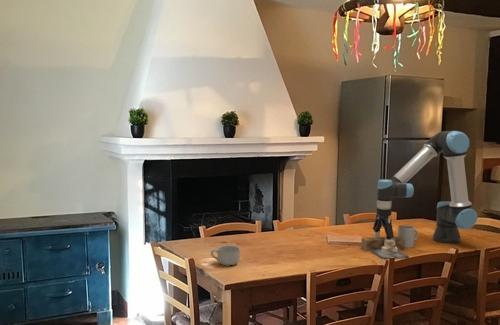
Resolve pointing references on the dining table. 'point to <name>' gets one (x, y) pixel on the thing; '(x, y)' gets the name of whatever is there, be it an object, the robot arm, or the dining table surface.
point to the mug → (407, 235)
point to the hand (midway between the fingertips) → (382, 246)
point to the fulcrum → (389, 251)
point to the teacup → (227, 254)
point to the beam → (380, 243)
